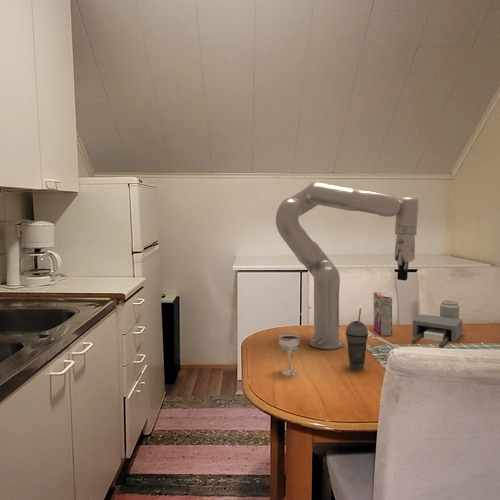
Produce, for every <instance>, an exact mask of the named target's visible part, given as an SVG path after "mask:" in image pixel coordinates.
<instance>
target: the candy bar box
mask: <svg viewBox="0 0 500 500" xmlns="http://www.w3.org/2000/svg"><path fill="white" fill-rule="evenodd" d="M373 329H374V330H375V331H376V333H378V334H379V335H380V337H381V336H383V337H389V336H393V297H392V296H391V295H390V294H389V293H387V292H385V291H373Z"/></svg>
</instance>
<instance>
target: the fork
mask: <svg viewBox="0 0 500 500" xmlns="http://www.w3.org/2000/svg"><path fill="white" fill-rule="evenodd" d="M372 335H373V338H374V339H376V340H378V341H380V342H382V343H384V344H387V345H389V346H391V347H394V348H396V349H398V348H397V347H398V346H397V345H395V344H393V343H391V342H389V341H387V340H385V339H384V338H381V337H379V336H376V337H374V336H375V335H374V334H373V333H372V332H371V331H370V330H368V336H372ZM373 338H372V339H373Z"/></svg>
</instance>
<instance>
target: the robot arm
mask: <svg viewBox="0 0 500 500" xmlns="http://www.w3.org/2000/svg"><path fill="white" fill-rule="evenodd" d="M419 205H420V204H419V199H418V198H416V197H409V196H408V197H405V196H404V197H403V196H402V197H398V198H397V197H396V196H394V195H390V194H384V193H380V192H375V191H374V192H373V191H369V190H362V189H359V188H355V187H349V186H344V185H338V184H332V183H327V182H323V181H322V182H321V181H313V182H311V183H309V184H308V186H306V187H305V188H304V189H302V190H301V191H299V192H297V193H296V194H294V195H292V196H290V197H288V198H285V199H283V200H282V201H281V203H280V204H279V206H278V208H277V211H276V214H275V215H276V216H275V224H276V229H277V232H278V234H279V235H280V237H281V238H282V240H283V241H284V242H285V244H286V245H287V246H288V248H289V249H290V251H291V252H292V253H293V254H294V255H295V257H296V258H297V260H298V262H299V263H301V264H302V265H303V266H304V267H305V268H306V270H307V271H308V272H309V273H310V274H311V276H312V277H313V338H311V339H310V341H309V345H311V346H312V347H313V348H316V349H319V350H336V349H340V348H342V347H343V346H344V342H343V340H342V339H340V286H341V285H340V283H341V278H340V272H339V270H338V268H337V267H336V265H335V264H334V263H333V262H332V261H331V259H330V258H329V257H328V255H326V253H325V252H324V251H323V249H322V248H321V246H319V244H318V243H317V242H315V241H314V240H313V239H312V238H311V237H310V236H309V234H307V231H306V230H305V229H304V228H303V227H302V225H301V224H300V221H299V217H301V216H302V215H304V214H306V213H307V212H309V211H311V210H312V209H314V208H315V207H317V206H323V207H327V208H332V209H333V208H334V209H337V210H338V209H339V210H342V211H348V212H361V213H367V214H374V215H376V216H377V215H378V216H380V217H384V218H385V217H387V218H391V217H395V223H394V224H395V225H394V226H395V227H394V235H396V236H395V237H396V239H395V244H394V245H395V246H394V260H395V262H397V264H396V265H397V276H396V277H397V278H396V279H397V280H399V281H407V280H408V276H409V275H408V274H409V273H408V272H409V263H411V262H413V261H414V260H415V259H416V258H415V257H416V256H415V255H416V253H415V252H416V236H417V231H418V218H419V217H418V215H419Z"/></svg>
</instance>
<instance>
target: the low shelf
mask: <svg viewBox="0 0 500 500" xmlns="http://www.w3.org/2000/svg"><path fill="white" fill-rule="evenodd" d="M430 327H435V328H442V329H449V330H448V335H447V336H446V338H445V339H444V340H443V341H442V342H439V344H438V348H439V347H443V348H444V347H446V345H447V344H448V343H449V341H451V343H457V341H458V340H459V339H460V338H461V336H462V335H463V319H462V318H459V319H455V318H447V317H440V315H431V314H422V313H421V314H420V315H419V316H417V317H416V318H415V319H413V320H412V336H413V337H414V338H413V339H412V340H411V344H416V343H418V342H419V341H420V340H421V339H423V338H424V332H425V331H426V330H427V329H428V328H430ZM417 341H418V342H417Z"/></svg>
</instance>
